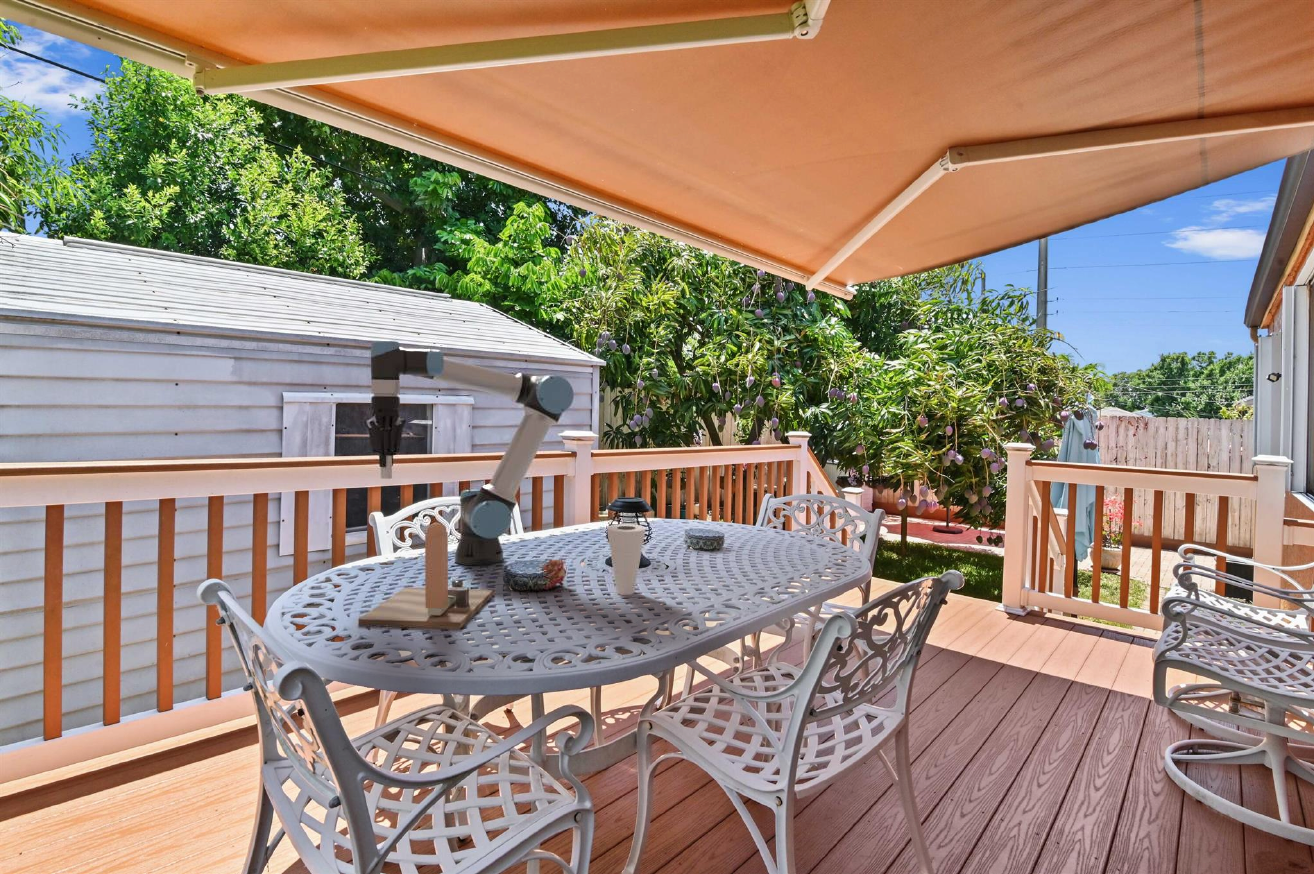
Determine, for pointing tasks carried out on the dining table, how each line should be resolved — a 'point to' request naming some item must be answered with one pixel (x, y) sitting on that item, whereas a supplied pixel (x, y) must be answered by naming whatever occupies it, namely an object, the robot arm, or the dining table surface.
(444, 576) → the link
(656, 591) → the dining table surface
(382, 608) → the board
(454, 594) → the keeper
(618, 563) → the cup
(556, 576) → the flower
